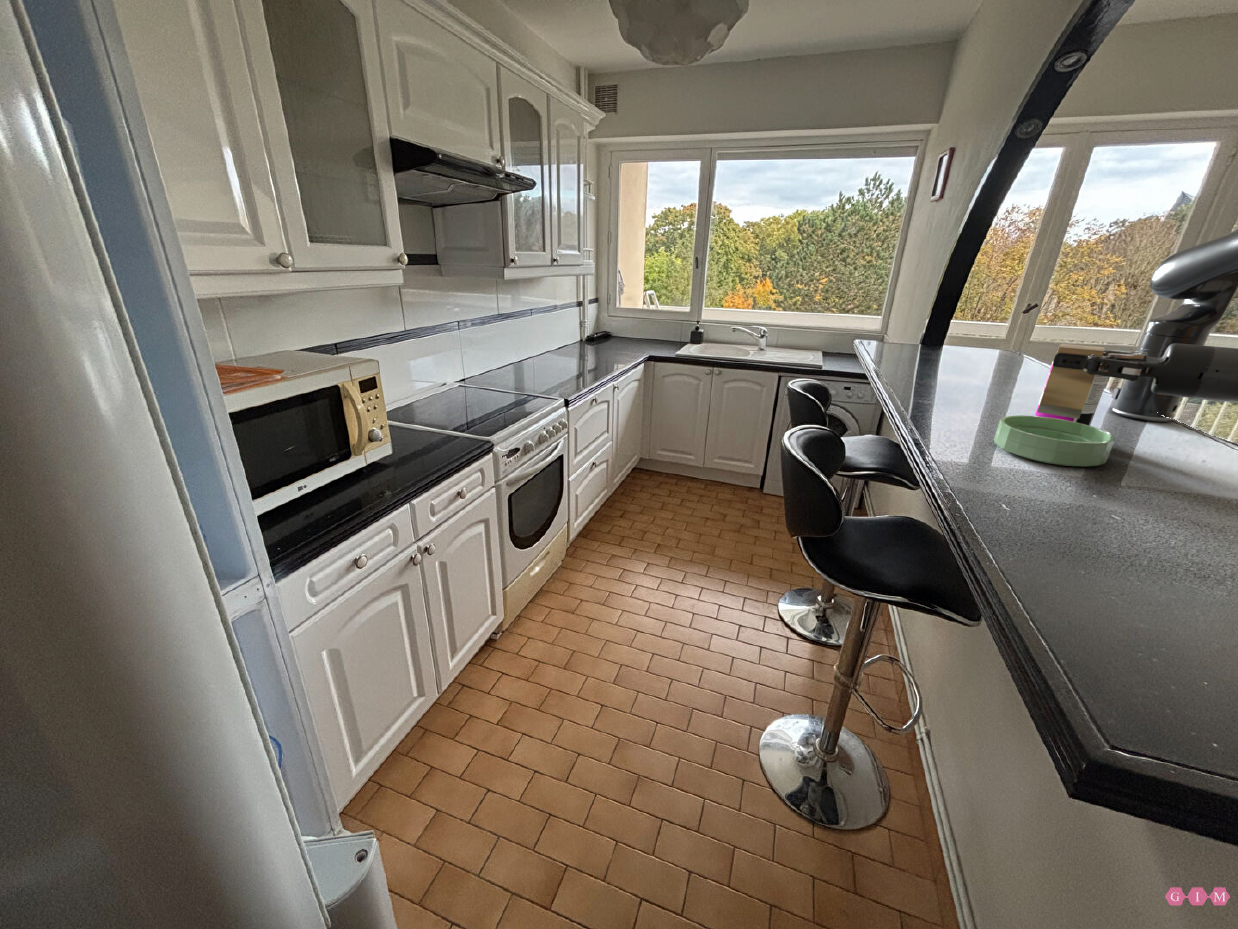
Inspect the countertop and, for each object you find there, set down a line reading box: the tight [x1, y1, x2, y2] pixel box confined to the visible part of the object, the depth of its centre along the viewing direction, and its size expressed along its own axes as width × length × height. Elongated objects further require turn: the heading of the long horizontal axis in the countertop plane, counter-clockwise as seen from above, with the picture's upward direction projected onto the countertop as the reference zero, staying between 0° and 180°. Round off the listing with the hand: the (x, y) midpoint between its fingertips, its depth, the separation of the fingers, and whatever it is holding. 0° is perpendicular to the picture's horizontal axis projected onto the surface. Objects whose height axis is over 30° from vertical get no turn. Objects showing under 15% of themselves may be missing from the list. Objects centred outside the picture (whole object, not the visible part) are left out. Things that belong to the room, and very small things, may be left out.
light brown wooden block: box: [1037, 343, 1106, 419], centre depth 84 cm, size 4×6×11 cm
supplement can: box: [1034, 361, 1109, 426], centre depth 94 cm, size 8×8×15 cm
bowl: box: [993, 414, 1116, 467], centre depth 87 cm, size 15×15×4 cm
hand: (1056, 357), depth 84 cm, fingers closed on light brown wooden block, 4 cm apart
